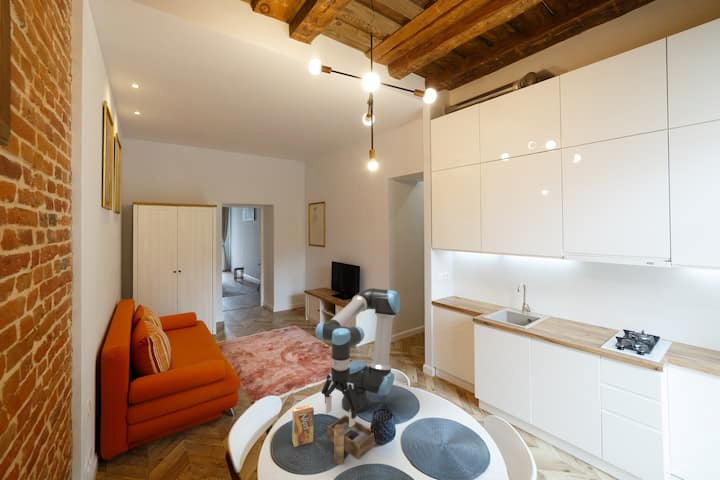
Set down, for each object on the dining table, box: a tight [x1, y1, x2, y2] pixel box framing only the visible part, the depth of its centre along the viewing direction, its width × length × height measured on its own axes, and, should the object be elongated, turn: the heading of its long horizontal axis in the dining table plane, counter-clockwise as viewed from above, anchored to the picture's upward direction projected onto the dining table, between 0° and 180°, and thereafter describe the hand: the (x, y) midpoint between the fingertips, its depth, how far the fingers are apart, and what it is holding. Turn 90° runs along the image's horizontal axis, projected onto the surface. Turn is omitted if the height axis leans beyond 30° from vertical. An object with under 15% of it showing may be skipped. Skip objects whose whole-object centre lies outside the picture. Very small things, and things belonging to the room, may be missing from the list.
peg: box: [333, 424, 345, 465], centre depth 123 cm, size 4×4×14 cm
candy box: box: [291, 404, 315, 448], centre depth 134 cm, size 9×4×15 cm, turn 116°
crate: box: [326, 415, 377, 460], centre depth 135 cm, size 19×12×6 cm, turn 49°
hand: (339, 418), depth 123 cm, fingers open, 13 cm apart
